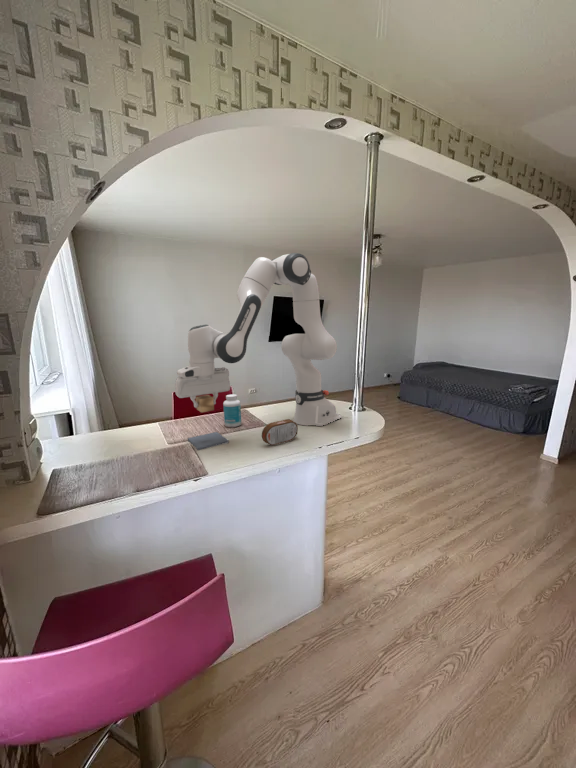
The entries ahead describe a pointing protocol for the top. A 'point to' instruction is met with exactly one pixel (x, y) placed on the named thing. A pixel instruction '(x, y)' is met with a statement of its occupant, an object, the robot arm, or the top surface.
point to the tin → (279, 432)
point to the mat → (207, 440)
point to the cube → (205, 403)
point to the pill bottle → (232, 411)
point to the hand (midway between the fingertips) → (205, 405)
